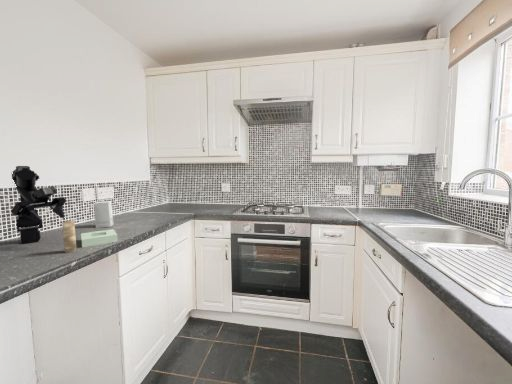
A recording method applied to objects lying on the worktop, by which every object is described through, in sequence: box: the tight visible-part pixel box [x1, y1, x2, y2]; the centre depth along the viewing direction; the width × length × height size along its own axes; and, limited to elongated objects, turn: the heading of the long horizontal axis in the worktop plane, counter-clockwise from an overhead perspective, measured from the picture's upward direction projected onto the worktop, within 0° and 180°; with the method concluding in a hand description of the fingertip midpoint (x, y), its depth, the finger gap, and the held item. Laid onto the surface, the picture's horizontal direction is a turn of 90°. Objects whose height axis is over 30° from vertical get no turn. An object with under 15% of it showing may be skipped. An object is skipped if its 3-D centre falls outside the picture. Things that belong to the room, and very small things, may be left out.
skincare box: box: [93, 200, 114, 229], centre depth 145 cm, size 8×7×16 cm
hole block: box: [80, 228, 119, 248], centre depth 115 cm, size 14×14×4 cm
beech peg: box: [62, 220, 77, 254], centre depth 100 cm, size 4×4×13 cm
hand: (53, 219), depth 101 cm, fingers open, 9 cm apart
